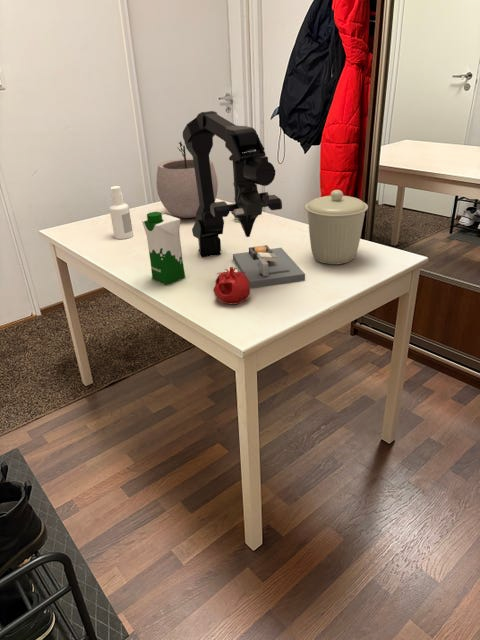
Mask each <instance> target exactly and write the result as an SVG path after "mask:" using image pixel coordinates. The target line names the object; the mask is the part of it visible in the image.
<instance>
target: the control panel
mask: <svg viewBox="0 0 480 640" xmlns="http://www.w3.org/2000/svg"><path fill="white" fill-rule="evenodd" d="M264 246H265V247H266V252H263V253H274V254H275V255H276V256H277V261H267V263H268V276H263V275H262V274H261V272H260V271H259V258H258V257H257V254H258V253H255V249H254V248H255V247H256V246H251V247H248V251H246V252H237V253H233V254H232V261H233V263H234V264H235V266H236V267H237V269H238V272H246V273H243V274H245V276H246V277H247V278H248V280H249V285H250V289H255V288H256V289H257V288H261V287H268V286H275V285H276V286H277V285H283V284H290V283H296V282H302V281H305V280H306V273H305V272H304V271H303V270H302V269H301V268H300V267H299V265H298V264H297V263H296V262H295V261H294V260H293V259H292V257H291V256H289V255H288V253H287V252H286V251H285V250H284V249H283V247H277V248H270V247H269V246H268V245H267V244H266V245H265V244H264Z"/></svg>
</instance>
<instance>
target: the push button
mask: <svg viewBox="0 0 480 640" xmlns="http://www.w3.org/2000/svg"><path fill="white" fill-rule="evenodd" d="M254 247H255V248H254V249H255V253H258V252H266V247H265V245H258V246H254Z"/></svg>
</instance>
